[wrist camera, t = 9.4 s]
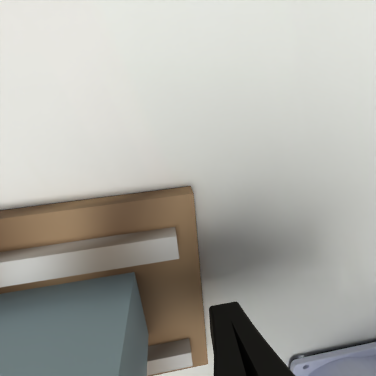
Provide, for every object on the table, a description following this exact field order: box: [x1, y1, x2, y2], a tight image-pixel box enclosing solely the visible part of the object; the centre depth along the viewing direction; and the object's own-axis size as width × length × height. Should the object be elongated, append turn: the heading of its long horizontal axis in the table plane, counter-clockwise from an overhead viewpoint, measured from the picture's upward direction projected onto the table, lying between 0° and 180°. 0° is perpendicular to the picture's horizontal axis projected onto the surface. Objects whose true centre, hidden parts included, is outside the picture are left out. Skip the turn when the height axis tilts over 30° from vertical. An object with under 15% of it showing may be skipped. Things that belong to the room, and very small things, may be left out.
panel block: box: [0, 272, 149, 376], centre depth 8 cm, size 7×4×5 cm, turn 95°
